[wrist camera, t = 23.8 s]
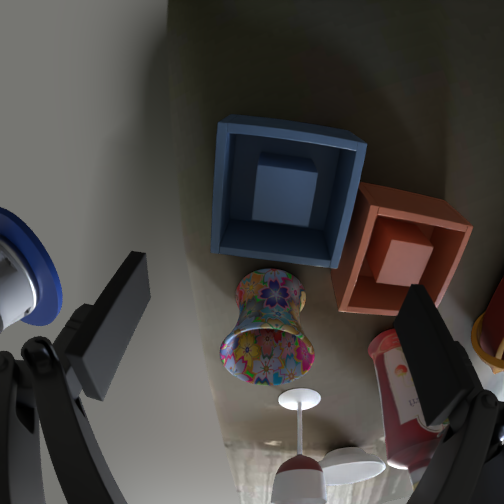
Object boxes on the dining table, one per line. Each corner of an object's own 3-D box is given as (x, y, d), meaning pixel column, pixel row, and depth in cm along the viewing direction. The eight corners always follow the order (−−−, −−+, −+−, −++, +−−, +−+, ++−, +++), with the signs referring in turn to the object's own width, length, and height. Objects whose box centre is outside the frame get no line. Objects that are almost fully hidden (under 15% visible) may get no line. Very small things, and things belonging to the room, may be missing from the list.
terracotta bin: (330, 273, 36) (338, 311, 30) (353, 180, 30) (370, 204, 24) (414, 283, 36) (432, 318, 30) (444, 200, 30) (473, 226, 24)
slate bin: (222, 221, 34) (210, 253, 28) (230, 114, 28) (217, 121, 22) (328, 234, 34) (337, 269, 28) (349, 130, 28) (367, 143, 22)
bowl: (394, 446, 61) (398, 468, 55) (334, 468, 69) (334, 489, 63) (357, 428, 55) (360, 455, 50) (289, 453, 64) (288, 477, 58)
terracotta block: (365, 256, 34) (375, 282, 29) (377, 216, 31) (391, 239, 27) (402, 262, 34) (416, 287, 29) (416, 224, 31) (434, 246, 27)
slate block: (255, 199, 31) (251, 220, 27) (260, 151, 29) (257, 164, 24) (304, 205, 31) (308, 227, 27) (312, 158, 29) (318, 172, 24)
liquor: (356, 351, 43) (380, 535, 19) (381, 316, 39) (428, 519, 15) (394, 358, 43) (429, 525, 19) (420, 326, 39) (476, 504, 15)
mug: (225, 266, 37) (207, 329, 28) (304, 256, 35) (311, 320, 26) (246, 337, 43) (237, 400, 33) (312, 331, 41) (317, 395, 32)
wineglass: (270, 407, 52) (263, 507, 35) (286, 383, 47) (282, 496, 30) (310, 413, 52) (311, 509, 35) (330, 390, 48) (337, 498, 31)
